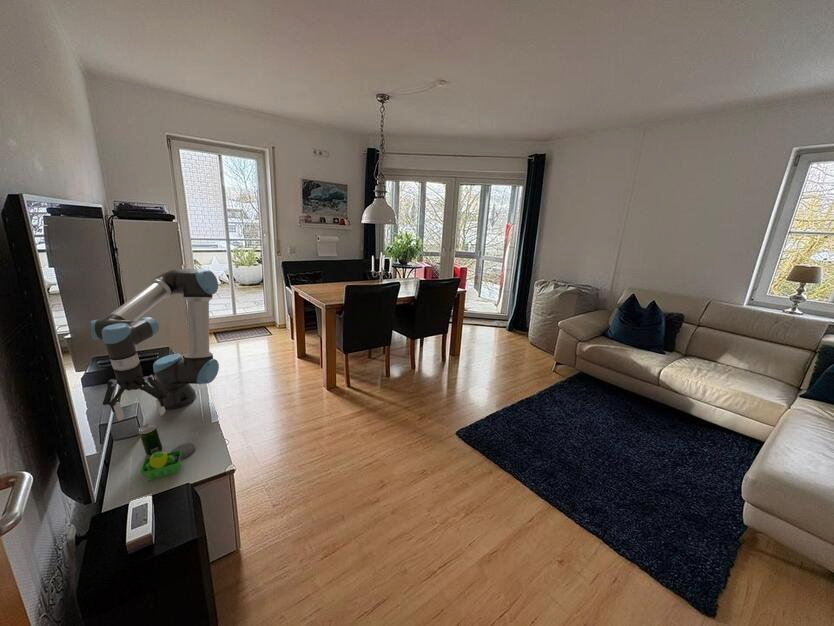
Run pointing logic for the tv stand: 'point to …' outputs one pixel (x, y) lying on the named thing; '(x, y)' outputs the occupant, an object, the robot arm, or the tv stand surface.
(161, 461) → the fruit basket
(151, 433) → the beer can
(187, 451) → the coaster
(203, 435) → the tv stand surface
